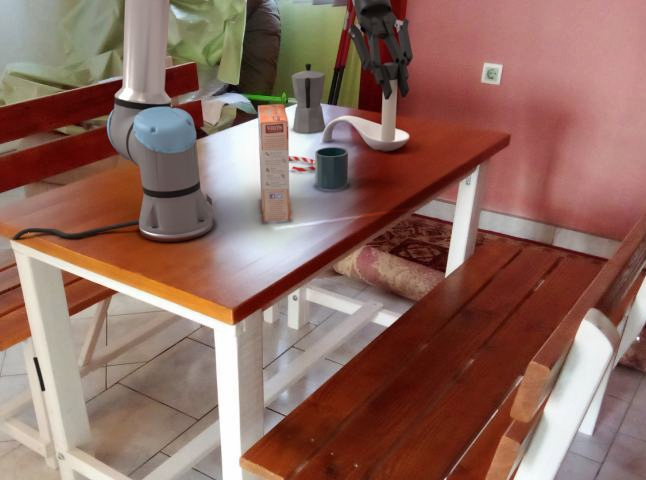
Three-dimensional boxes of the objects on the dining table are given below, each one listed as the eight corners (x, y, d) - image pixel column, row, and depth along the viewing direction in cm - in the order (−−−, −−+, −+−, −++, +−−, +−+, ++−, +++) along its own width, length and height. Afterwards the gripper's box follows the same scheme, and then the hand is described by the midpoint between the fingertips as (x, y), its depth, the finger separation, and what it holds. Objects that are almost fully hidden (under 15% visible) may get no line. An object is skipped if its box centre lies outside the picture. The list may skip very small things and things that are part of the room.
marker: (384, 142, 157) (387, 66, 148) (378, 138, 160) (381, 63, 151) (397, 140, 157) (400, 64, 149) (391, 137, 160) (395, 61, 152)
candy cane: (282, 151, 186) (326, 161, 176) (282, 156, 186) (326, 166, 177) (261, 158, 181) (305, 170, 172) (261, 164, 182) (305, 175, 173)
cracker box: (291, 221, 148) (289, 119, 137) (262, 223, 148) (257, 121, 137) (287, 198, 160) (285, 102, 149) (261, 199, 160) (256, 104, 149)
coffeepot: (293, 123, 213) (292, 59, 203) (325, 122, 212) (325, 58, 202) (291, 138, 200) (289, 70, 190) (325, 137, 199) (325, 69, 189)
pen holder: (321, 193, 162) (321, 158, 157) (311, 183, 168) (311, 149, 163) (351, 189, 163) (352, 154, 159) (341, 179, 169) (341, 145, 165)
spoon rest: (415, 144, 188) (417, 117, 185) (398, 157, 180) (400, 129, 176) (334, 135, 200) (334, 109, 196) (314, 147, 191) (314, 120, 187)
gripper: (339, -10, 150) (365, 88, 145) (411, -17, 152) (439, 79, 147) (331, 15, 157) (356, 109, 152) (399, 8, 160) (426, 100, 155)
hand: (397, 94), depth 150 cm, fingers closed on marker, 3 cm apart
